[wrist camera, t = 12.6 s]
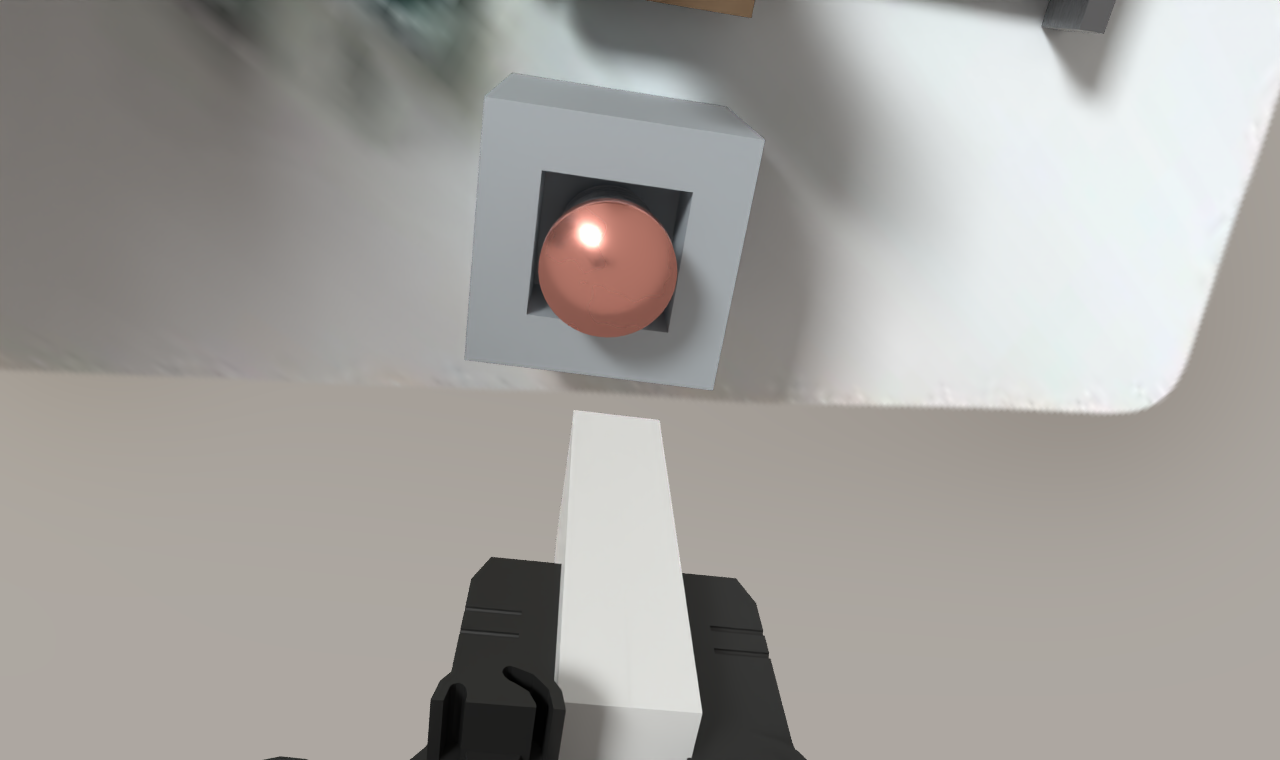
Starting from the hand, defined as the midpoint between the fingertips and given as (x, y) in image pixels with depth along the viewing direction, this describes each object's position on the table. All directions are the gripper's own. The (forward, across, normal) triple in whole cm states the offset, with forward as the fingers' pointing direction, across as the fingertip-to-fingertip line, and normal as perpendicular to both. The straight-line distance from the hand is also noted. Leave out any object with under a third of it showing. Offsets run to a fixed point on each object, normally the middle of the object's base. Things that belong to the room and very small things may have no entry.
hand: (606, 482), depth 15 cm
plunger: (+17, 0, 0) cm, 17 cm away
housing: (+24, 0, 0) cm, 24 cm away
